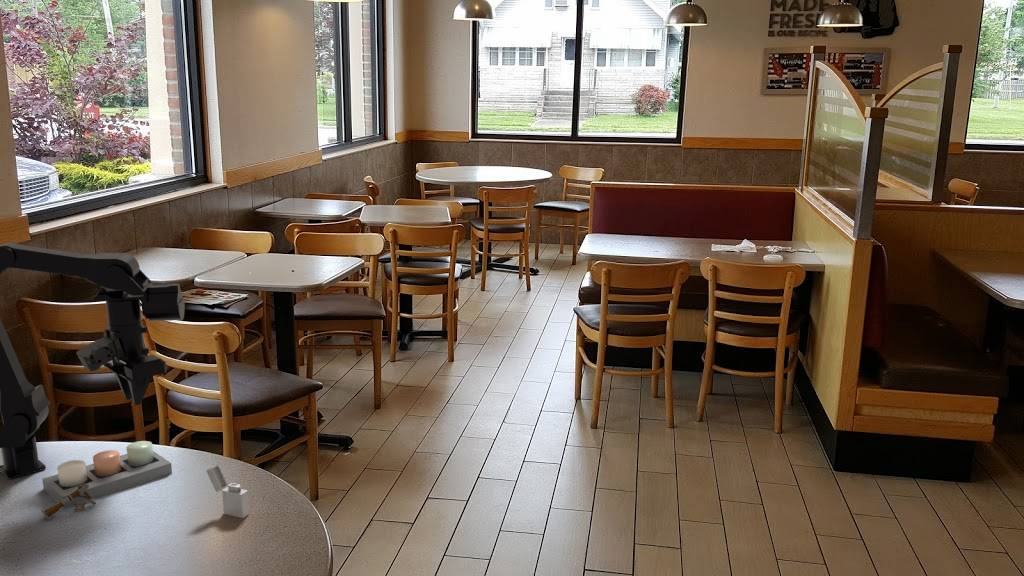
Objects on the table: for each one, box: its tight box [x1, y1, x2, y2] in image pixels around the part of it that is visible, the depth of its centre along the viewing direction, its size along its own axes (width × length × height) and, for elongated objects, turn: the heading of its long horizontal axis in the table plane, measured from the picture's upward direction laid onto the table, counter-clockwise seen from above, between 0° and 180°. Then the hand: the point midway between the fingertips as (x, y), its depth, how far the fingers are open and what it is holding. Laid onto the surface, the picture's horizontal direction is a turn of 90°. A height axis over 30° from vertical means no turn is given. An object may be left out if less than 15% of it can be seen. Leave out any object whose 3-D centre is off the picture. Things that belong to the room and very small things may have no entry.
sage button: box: [126, 440, 154, 467], centre depth 162 cm, size 4×4×3 cm
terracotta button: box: [92, 449, 121, 477], centre depth 158 cm, size 4×4×3 cm
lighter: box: [206, 464, 250, 519], centre depth 147 cm, size 7×2×8 cm, turn 67°
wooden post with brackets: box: [40, 483, 97, 522], centre depth 147 cm, size 2×8×4 cm, turn 128°
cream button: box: [57, 459, 87, 488], centre depth 154 cm, size 4×4×3 cm
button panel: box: [41, 450, 173, 508], centre depth 159 cm, size 10×19×2 cm, turn 136°
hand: (133, 402), depth 165 cm, fingers open, 4 cm apart
